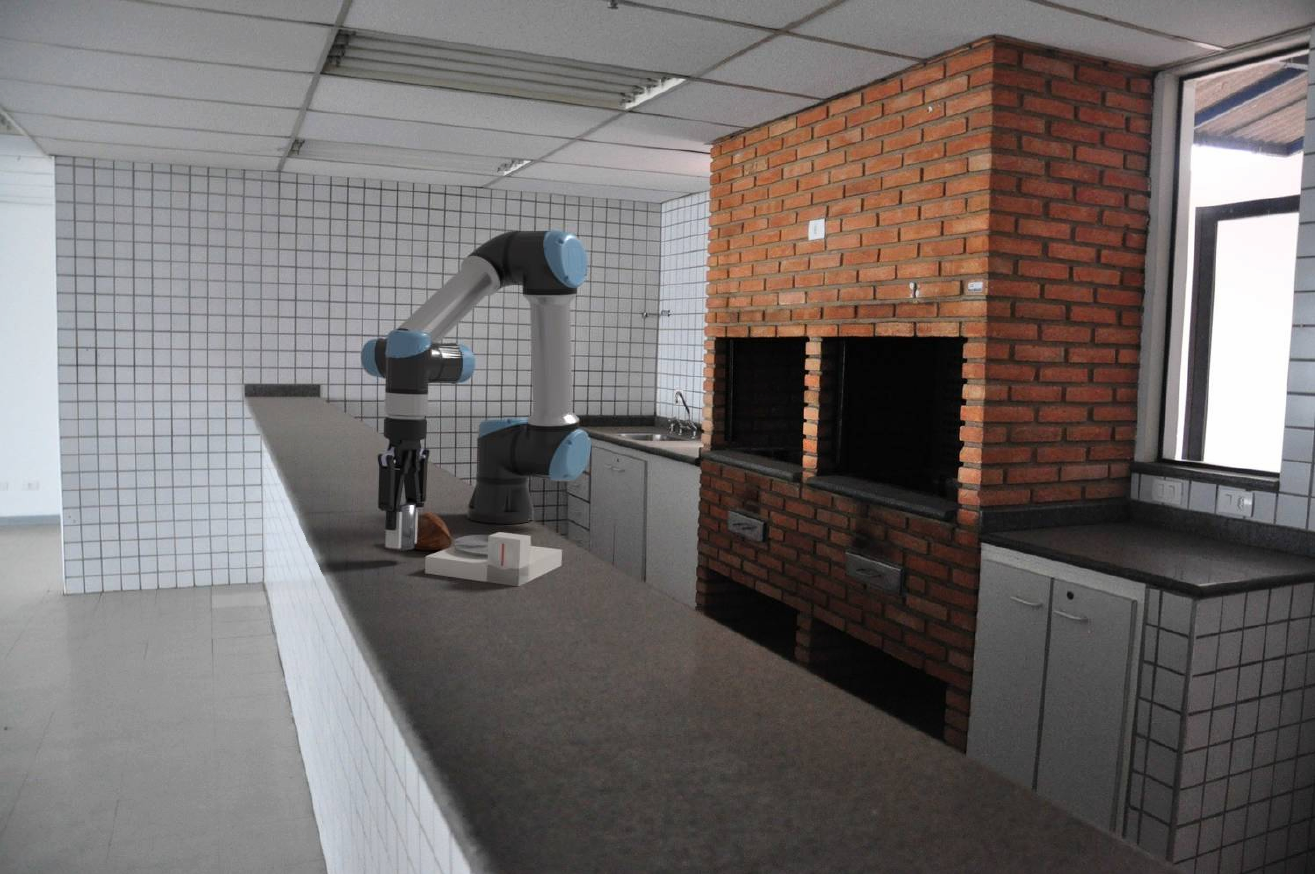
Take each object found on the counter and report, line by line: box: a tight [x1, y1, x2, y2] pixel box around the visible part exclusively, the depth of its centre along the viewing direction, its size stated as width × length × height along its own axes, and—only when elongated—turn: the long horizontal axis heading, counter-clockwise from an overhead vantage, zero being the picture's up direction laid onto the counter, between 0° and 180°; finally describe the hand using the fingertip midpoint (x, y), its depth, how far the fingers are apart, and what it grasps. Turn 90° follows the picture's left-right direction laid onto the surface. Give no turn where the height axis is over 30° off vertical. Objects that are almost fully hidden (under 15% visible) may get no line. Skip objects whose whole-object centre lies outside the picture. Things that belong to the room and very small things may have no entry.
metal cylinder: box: [387, 501, 416, 551], centre depth 182 cm, size 5×5×8 cm
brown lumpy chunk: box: [414, 512, 453, 552], centre depth 194 cm, size 13×8×10 cm
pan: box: [452, 534, 532, 555], centre depth 182 cm, size 14×14×2 cm
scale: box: [424, 531, 563, 587], centre depth 180 cm, size 18×18×8 cm
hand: (401, 544), depth 182 cm, fingers closed on metal cylinder, 5 cm apart
